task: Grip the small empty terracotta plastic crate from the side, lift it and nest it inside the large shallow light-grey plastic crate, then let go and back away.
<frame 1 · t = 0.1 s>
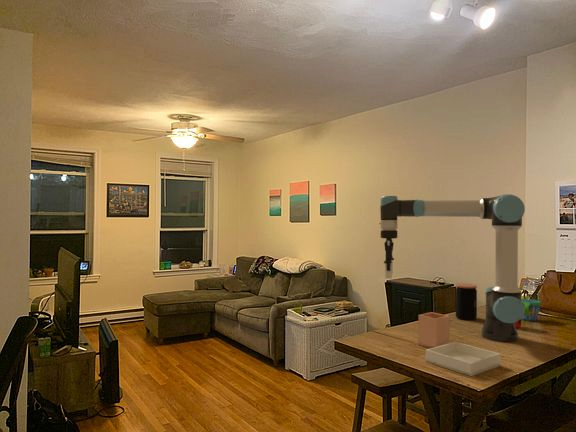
hand: (389, 276, 204), 28 cm above the table, tool pointing down, fingers open, 13 cm apart
snack cup: (529, 320, 238), on the table
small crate: (433, 345, 191), on the table
coffee jar: (466, 318, 241), on the table
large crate: (462, 363, 168), on the table
canned food: (512, 327, 223), on the table
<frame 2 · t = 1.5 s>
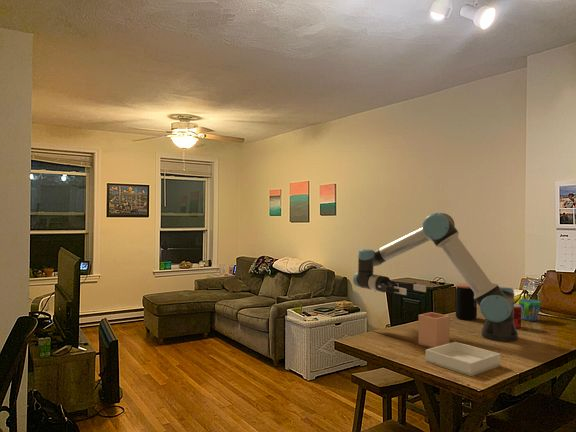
hand: (416, 290, 198), 22 cm above the table, tool horizontal, fingers open, 13 cm apart
nothing on the table moved.
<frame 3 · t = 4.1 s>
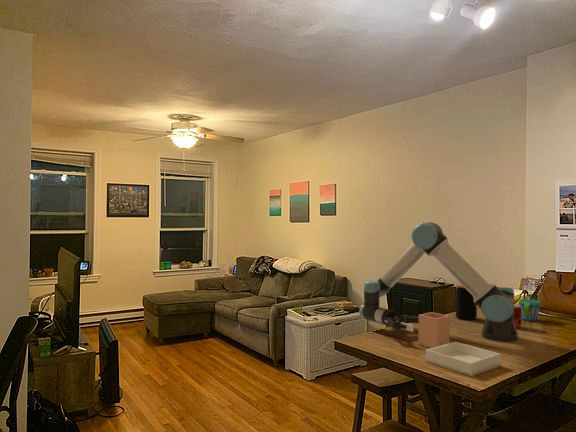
hand: (423, 326, 195), 7 cm above the table, tool horizontal, fingers open, 13 cm apart
nothing on the table moved.
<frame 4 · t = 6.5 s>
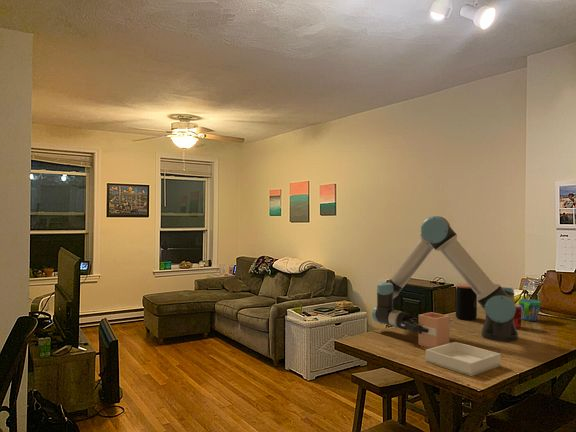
hand: (443, 330, 187), 8 cm above the table, tool horizontal, fingers closed on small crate, 9 cm apart
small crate: (433, 345, 191), on the table, touching gripper
everything else where it was.
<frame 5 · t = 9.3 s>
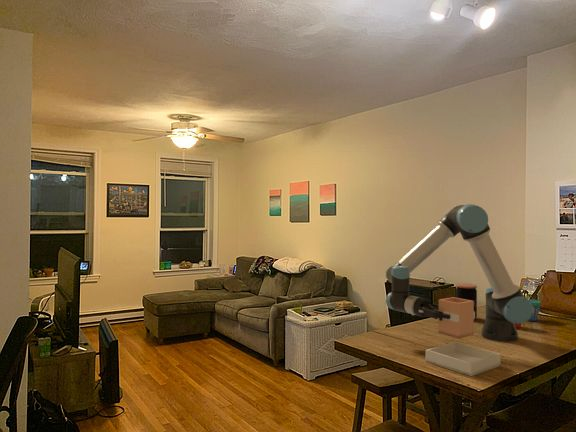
hand: (466, 316, 167), 18 cm above the table, tool horizontal, fingers closed on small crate, 9 cm apart
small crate: (455, 334, 171), point 10 cm above the table, touching gripper
everything else where it was.
when the fingers open (10 cm above the table, at t = 11.9 s): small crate drops 2 cm, resting on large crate.
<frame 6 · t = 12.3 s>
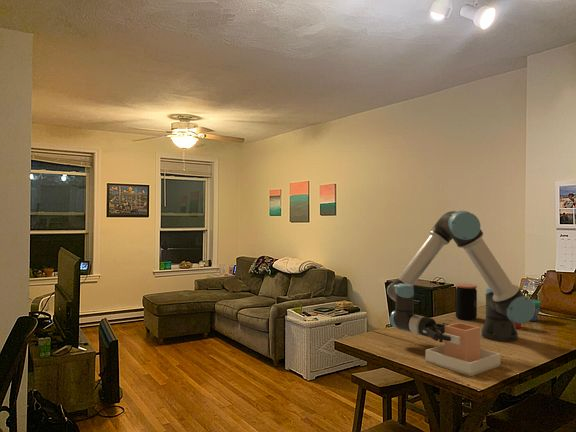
hand: (470, 337, 165), 10 cm above the table, tool horizontal, fingers open, 13 cm apart
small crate: (462, 360, 168), point 1 cm above the table, touching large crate
everything else where it was.
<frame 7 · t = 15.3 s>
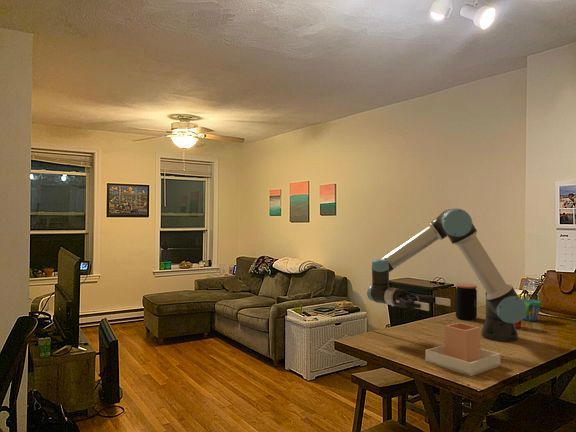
hand: (439, 304, 176), 20 cm above the table, tool horizontal, fingers open, 13 cm apart
nothing on the table moved.
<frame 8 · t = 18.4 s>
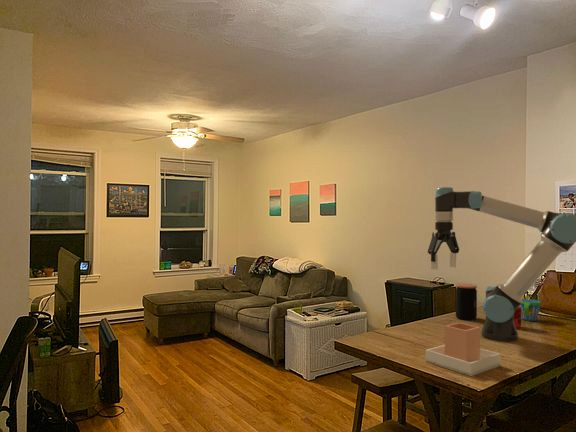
hand: (443, 268, 203), 32 cm above the table, tool pointing down, fingers open, 13 cm apart
nothing on the table moved.
at the end: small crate inside the target area on the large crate (0.1 cm from its centre), point 1.0 cm above the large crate's base; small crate tilted 0°; the gripper is holding nothing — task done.
